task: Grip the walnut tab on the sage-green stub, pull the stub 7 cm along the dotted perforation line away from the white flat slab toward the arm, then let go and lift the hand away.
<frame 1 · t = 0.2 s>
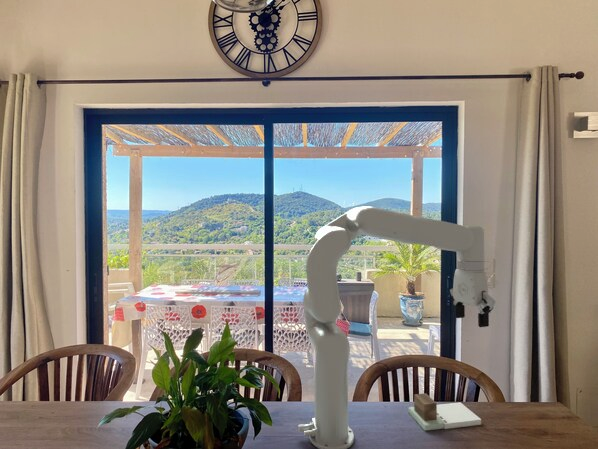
hand: (471, 321, 104), 30 cm above the table, tool pointing down, fingers open, 9 cm apart
stub: (425, 409, 105), point 3 cm above the table, slide at 0.0 cm
white flat slab: (453, 417, 106), on the table
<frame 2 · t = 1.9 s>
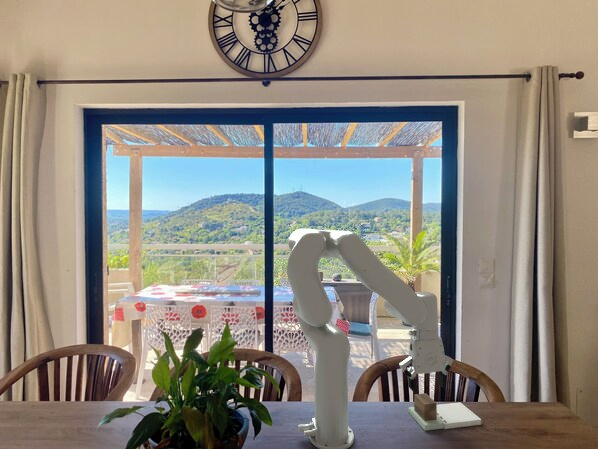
hand: (427, 388, 105), 10 cm above the table, tool pointing down, fingers open, 9 cm apart
nothing on the table moved.
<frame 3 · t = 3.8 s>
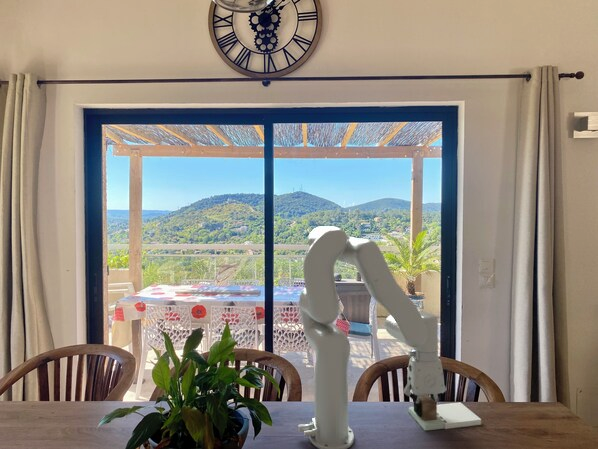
hand: (425, 412, 105), 2 cm above the table, tool pointing down, fingers closed on stub, 4 cm apart
stub: (425, 409, 105), point 3 cm above the table, slide at 0.0 cm, touching gripper
everything else where it was.
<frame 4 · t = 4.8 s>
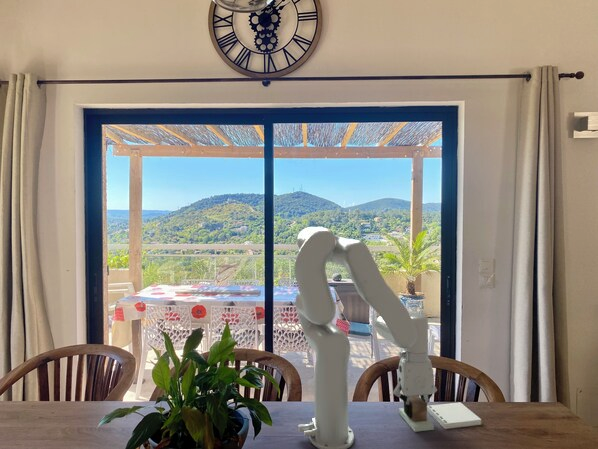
hand: (415, 414, 104), 2 cm above the table, tool pointing down, fingers closed on stub, 4 cm apart
stub: (415, 410, 104), point 3 cm above the table, slide at 3.2 cm, touching gripper
everything else where it was.
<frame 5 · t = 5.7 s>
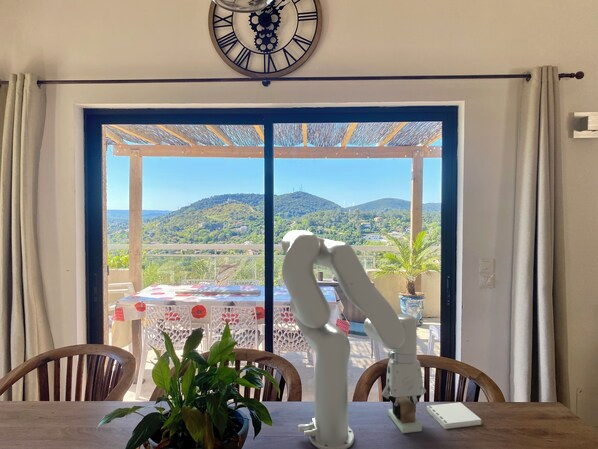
hand: (404, 415, 104), 2 cm above the table, tool pointing down, fingers closed on stub, 4 cm apart
stub: (404, 411, 104), point 3 cm above the table, slide at 6.9 cm, touching gripper
everything else where it was.
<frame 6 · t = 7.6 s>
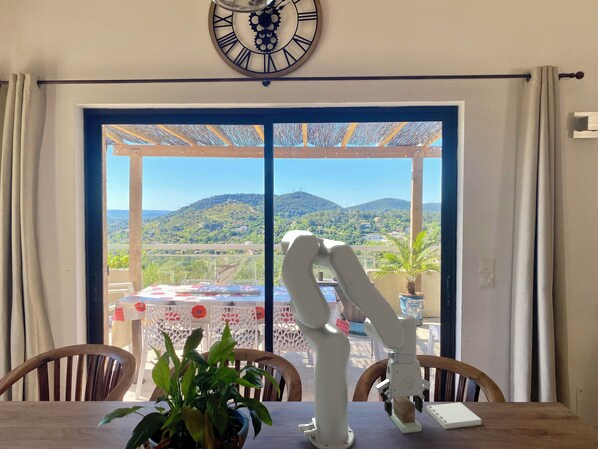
hand: (403, 411, 103), 3 cm above the table, tool pointing down, fingers open, 9 cm apart
stub: (404, 411, 104), point 3 cm above the table, slide at 7.0 cm
everything else where it was.
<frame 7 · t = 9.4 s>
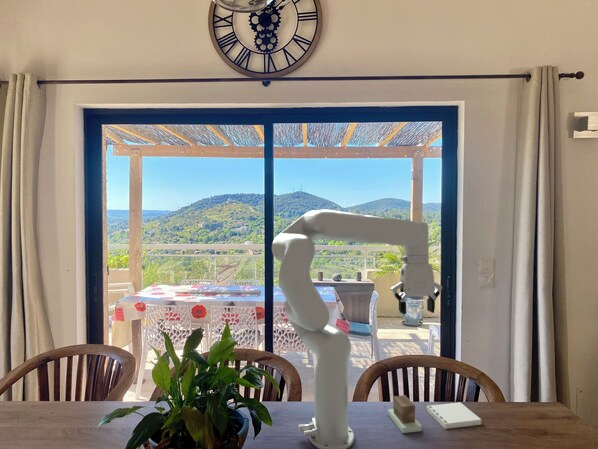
hand: (416, 312, 110), 32 cm above the table, tool pointing down, fingers open, 9 cm apart
nothing on the table moved.
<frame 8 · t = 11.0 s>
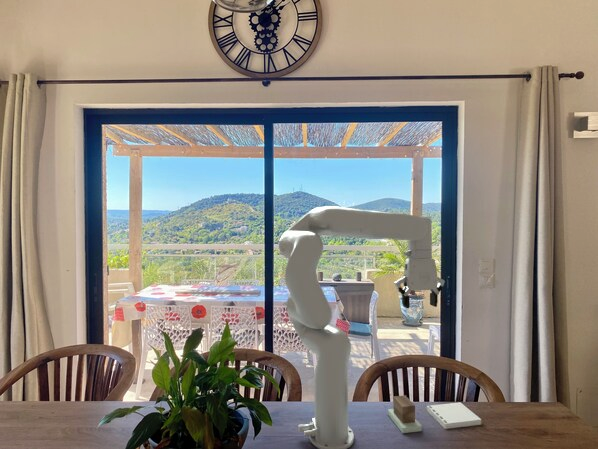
hand: (419, 306, 112), 33 cm above the table, tool pointing down, fingers open, 9 cm apart
nothing on the table moved.
at the end: stub slide at 7.0 cm; the gripper is holding nothing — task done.
